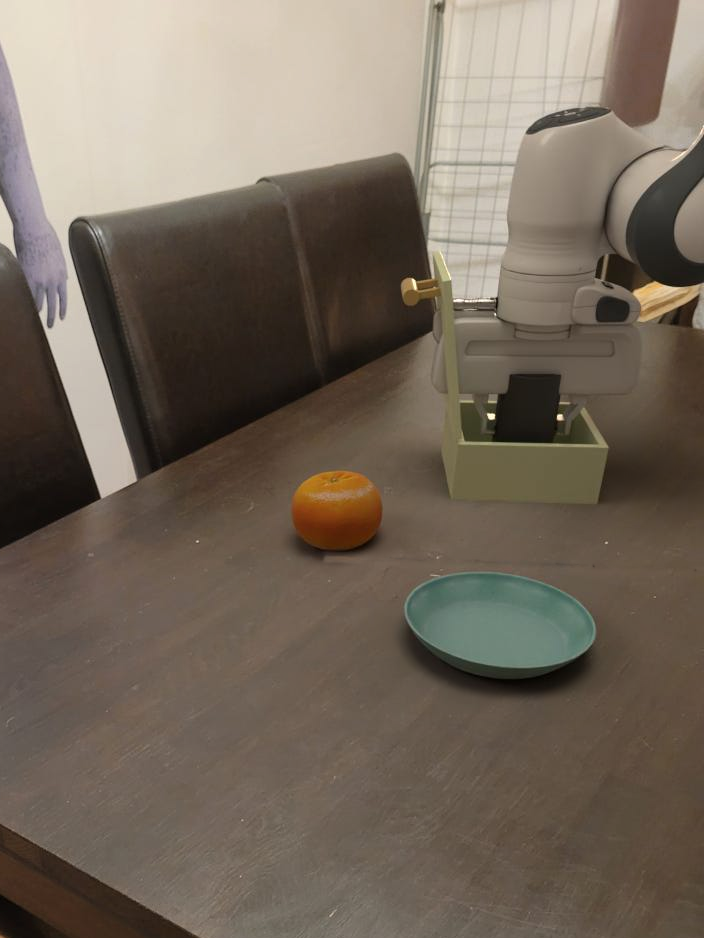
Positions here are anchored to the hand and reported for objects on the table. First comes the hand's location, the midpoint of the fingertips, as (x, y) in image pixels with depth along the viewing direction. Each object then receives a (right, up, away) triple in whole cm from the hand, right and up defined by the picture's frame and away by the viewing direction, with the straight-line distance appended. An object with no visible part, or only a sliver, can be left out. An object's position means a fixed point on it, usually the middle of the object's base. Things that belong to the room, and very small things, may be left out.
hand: (523, 433), depth 101 cm
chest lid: (-9, +8, -4) cm, 13 cm away
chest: (0, -5, +3) cm, 6 cm away
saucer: (-10, -22, -24) cm, 34 cm away
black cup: (0, -4, +2) cm, 4 cm away
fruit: (-21, -13, -8) cm, 26 cm away
